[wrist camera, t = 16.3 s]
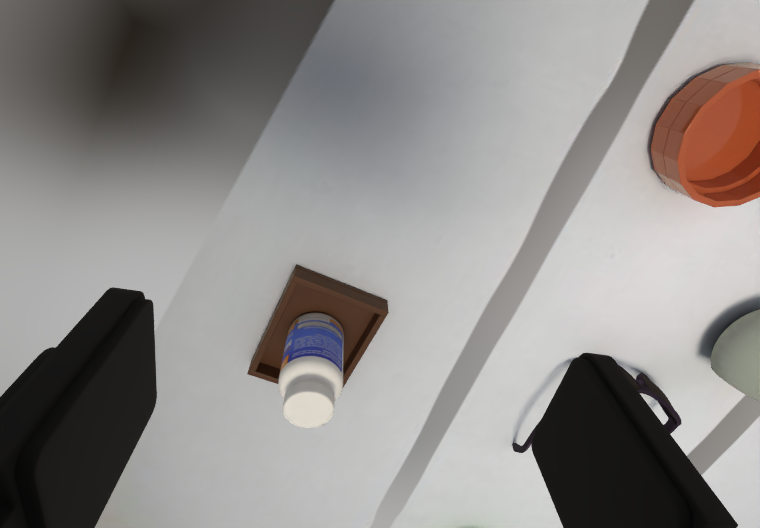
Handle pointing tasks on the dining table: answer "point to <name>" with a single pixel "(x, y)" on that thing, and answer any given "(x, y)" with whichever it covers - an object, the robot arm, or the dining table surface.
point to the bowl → (712, 137)
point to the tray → (328, 297)
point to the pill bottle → (312, 369)
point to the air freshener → (740, 355)
